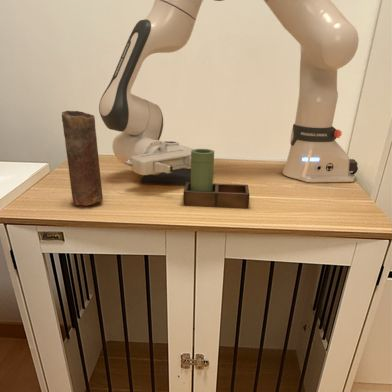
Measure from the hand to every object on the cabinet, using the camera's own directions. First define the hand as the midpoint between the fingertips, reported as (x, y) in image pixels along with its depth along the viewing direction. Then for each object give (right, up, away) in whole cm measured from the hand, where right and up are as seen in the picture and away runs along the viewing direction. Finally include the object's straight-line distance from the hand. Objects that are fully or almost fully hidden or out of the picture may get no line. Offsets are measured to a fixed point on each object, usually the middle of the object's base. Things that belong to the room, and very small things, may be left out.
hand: (184, 166), depth 107 cm
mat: (-3, +5, +18) cm, 19 cm away
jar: (+4, -9, 0) cm, 10 cm away
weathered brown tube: (-24, -11, -4) cm, 27 cm away
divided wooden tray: (+8, -9, 0) cm, 12 cm away
